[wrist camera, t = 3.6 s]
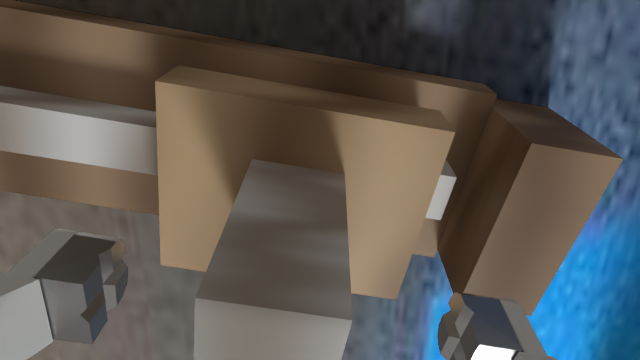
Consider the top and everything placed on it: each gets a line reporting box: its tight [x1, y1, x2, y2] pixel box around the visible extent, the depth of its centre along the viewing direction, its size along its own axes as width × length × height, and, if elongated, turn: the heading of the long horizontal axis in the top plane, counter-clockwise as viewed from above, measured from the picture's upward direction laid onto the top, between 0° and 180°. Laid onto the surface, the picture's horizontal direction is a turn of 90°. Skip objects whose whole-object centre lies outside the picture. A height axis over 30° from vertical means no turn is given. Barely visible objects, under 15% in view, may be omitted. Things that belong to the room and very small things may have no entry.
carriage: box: [155, 65, 455, 360], centre depth 12 cm, size 9×7×9 cm
